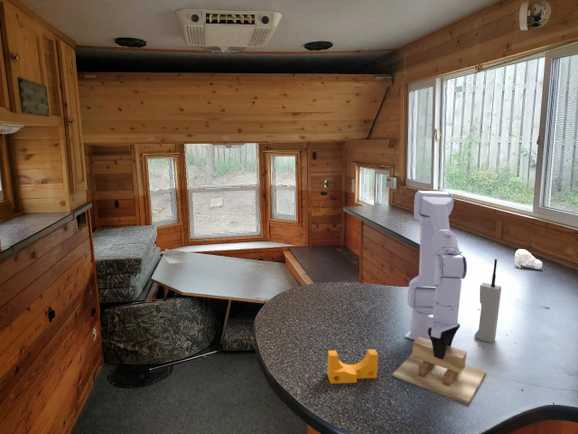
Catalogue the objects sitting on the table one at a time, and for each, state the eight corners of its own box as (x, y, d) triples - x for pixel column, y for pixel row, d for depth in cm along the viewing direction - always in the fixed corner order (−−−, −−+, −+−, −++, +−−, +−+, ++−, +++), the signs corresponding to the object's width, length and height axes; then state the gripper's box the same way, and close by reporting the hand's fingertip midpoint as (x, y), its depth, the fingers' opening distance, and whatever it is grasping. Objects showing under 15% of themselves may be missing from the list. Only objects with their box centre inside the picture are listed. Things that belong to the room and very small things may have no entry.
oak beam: (417, 350, 110) (418, 336, 109) (465, 366, 103) (466, 351, 102) (411, 356, 107) (413, 342, 106) (460, 373, 100) (462, 358, 99)
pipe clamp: (330, 384, 100) (331, 359, 99) (327, 374, 105) (328, 350, 103) (378, 382, 102) (380, 358, 100) (373, 372, 106) (375, 349, 105)
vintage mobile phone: (477, 334, 128) (486, 255, 124) (495, 339, 125) (504, 259, 121) (474, 338, 125) (482, 258, 121) (491, 343, 122) (501, 261, 118)
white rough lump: (517, 247, 203) (545, 253, 197) (513, 263, 205) (541, 270, 199) (515, 249, 198) (544, 256, 192) (511, 266, 200) (539, 273, 194)
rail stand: (416, 351, 117) (417, 340, 116) (485, 374, 106) (487, 362, 105) (392, 376, 104) (393, 363, 103) (468, 404, 93) (469, 391, 93)
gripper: (439, 290, 110) (434, 338, 112) (420, 307, 98) (415, 360, 100) (467, 296, 105) (462, 346, 108) (451, 315, 94) (445, 370, 96)
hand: (441, 354), depth 104 cm, fingers closed on oak beam, 4 cm apart
